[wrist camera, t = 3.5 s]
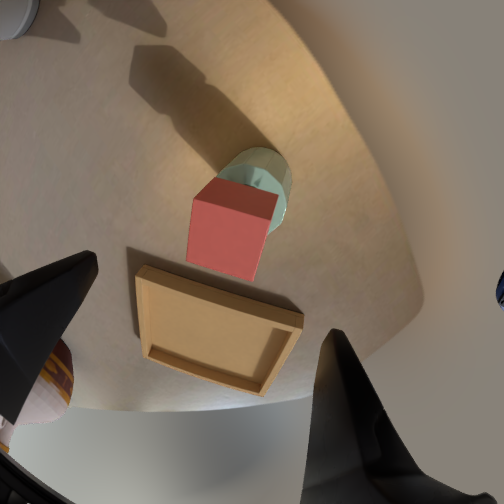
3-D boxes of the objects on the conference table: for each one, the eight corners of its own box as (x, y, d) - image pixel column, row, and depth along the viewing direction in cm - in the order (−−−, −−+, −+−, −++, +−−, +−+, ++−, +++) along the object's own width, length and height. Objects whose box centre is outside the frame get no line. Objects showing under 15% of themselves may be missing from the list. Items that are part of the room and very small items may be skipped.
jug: (26, 290, 38) (-65, 409, 13) (99, 355, 42) (24, 492, 17) (26, 331, 48) (-36, 422, 23) (84, 379, 52) (30, 479, 27)
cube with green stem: (288, 164, 19) (271, 220, 12) (275, 206, 21) (252, 282, 14) (241, 151, 19) (192, 198, 12) (231, 193, 21) (185, 261, 14)
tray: (304, 314, 27) (303, 329, 25) (265, 385, 35) (263, 397, 33) (144, 263, 27) (134, 275, 26) (148, 346, 36) (142, 357, 34)
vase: (299, 157, 19) (295, 178, 15) (282, 213, 22) (273, 247, 18) (236, 140, 19) (214, 156, 15) (224, 196, 22) (202, 225, 18)
